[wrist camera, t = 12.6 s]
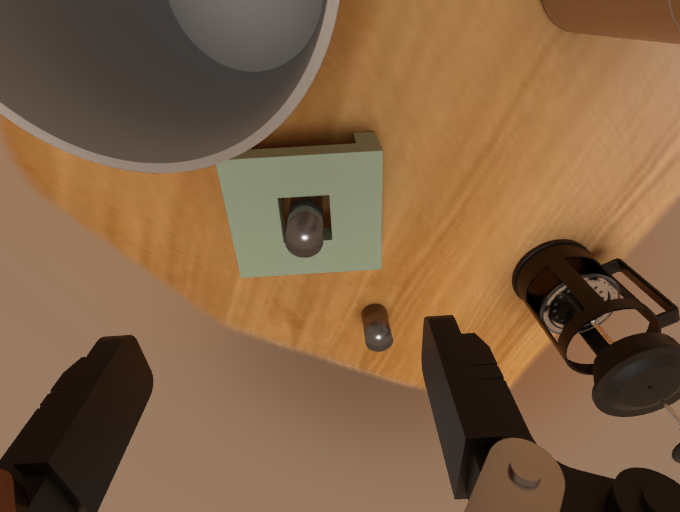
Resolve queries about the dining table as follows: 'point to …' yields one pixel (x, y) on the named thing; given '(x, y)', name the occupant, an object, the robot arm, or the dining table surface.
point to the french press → (587, 313)
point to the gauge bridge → (298, 181)
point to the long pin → (305, 226)
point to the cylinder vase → (158, 75)
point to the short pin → (376, 327)
